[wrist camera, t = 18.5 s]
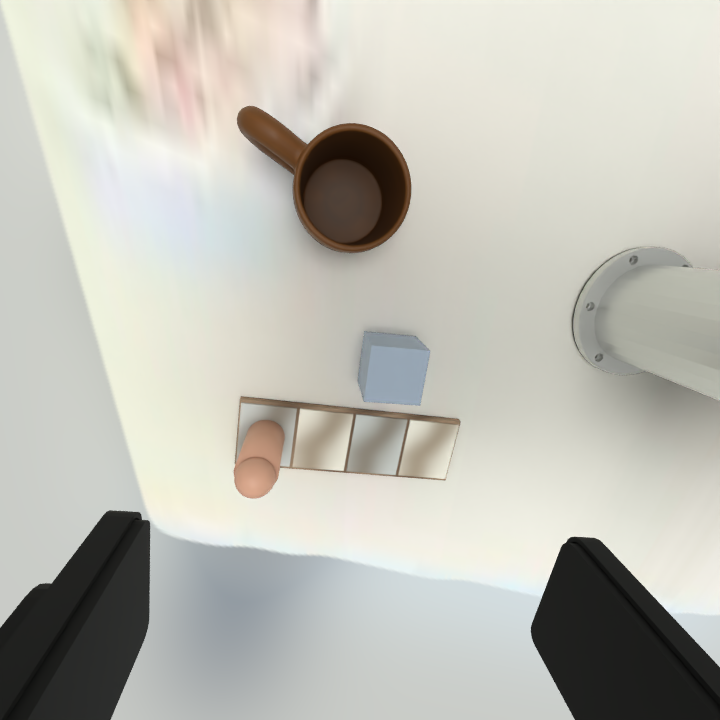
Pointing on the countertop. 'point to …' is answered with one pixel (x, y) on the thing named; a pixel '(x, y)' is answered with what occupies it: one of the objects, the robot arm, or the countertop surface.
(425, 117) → the countertop surface
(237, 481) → the pawn
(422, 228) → the countertop surface
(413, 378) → the light blue cube
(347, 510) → the countertop surface
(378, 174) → the mug
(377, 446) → the track
